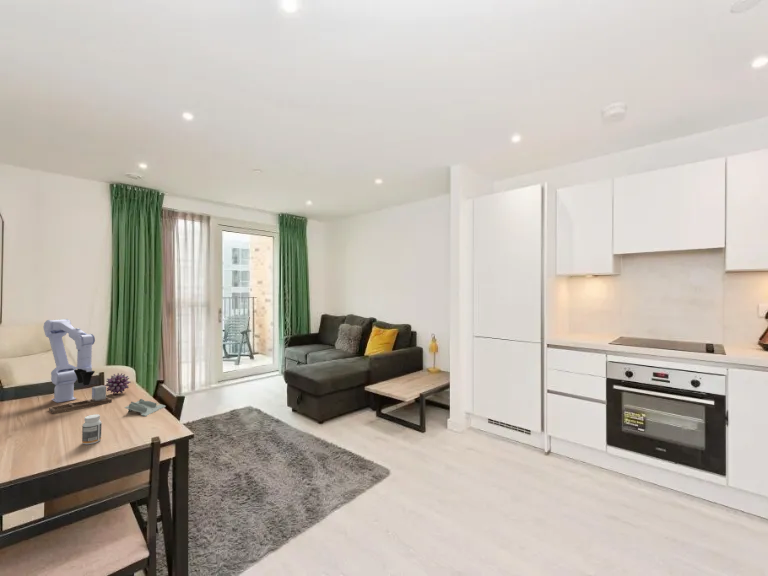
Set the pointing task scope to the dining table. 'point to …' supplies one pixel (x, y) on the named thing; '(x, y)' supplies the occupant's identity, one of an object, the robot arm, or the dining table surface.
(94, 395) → the square peg
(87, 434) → the pill bottle
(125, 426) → the dining table surface
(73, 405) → the rail
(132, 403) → the metal bracket
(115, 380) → the spiky ball
